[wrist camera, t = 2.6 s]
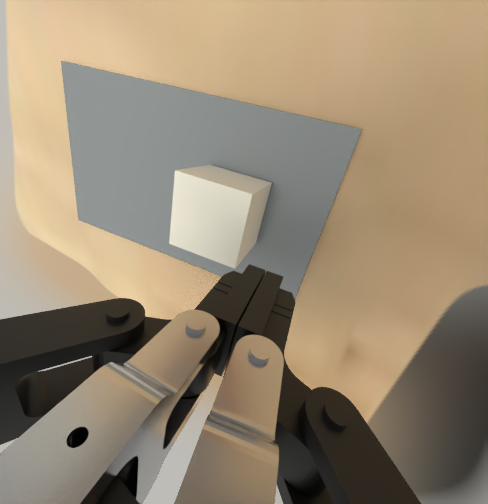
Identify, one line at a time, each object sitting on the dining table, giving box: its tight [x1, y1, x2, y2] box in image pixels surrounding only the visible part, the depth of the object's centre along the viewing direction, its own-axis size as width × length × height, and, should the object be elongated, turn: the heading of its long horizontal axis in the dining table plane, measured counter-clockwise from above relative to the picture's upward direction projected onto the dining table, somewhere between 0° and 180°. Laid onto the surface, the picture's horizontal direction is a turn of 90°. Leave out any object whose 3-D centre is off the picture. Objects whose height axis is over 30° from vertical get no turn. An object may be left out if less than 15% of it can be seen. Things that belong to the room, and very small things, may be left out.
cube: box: [169, 165, 273, 269], centre depth 17 cm, size 5×5×5 cm
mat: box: [61, 61, 362, 300], centre depth 21 cm, size 24×14×1 cm, turn 77°
